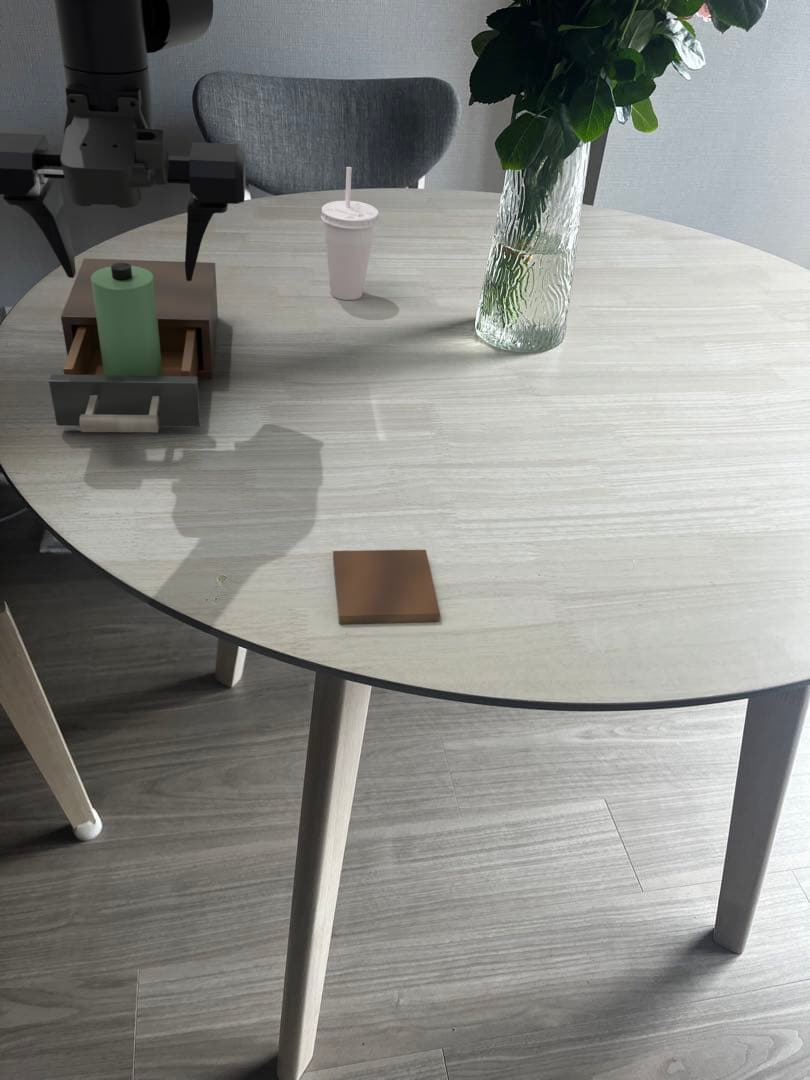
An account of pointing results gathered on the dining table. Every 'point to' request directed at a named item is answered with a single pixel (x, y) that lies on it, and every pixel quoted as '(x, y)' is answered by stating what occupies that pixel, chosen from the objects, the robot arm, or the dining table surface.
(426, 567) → the plate
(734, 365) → the dining table surface
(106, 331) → the green bottle
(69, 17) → the robot arm
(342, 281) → the smoothie
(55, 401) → the drawer
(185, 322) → the cabinet
